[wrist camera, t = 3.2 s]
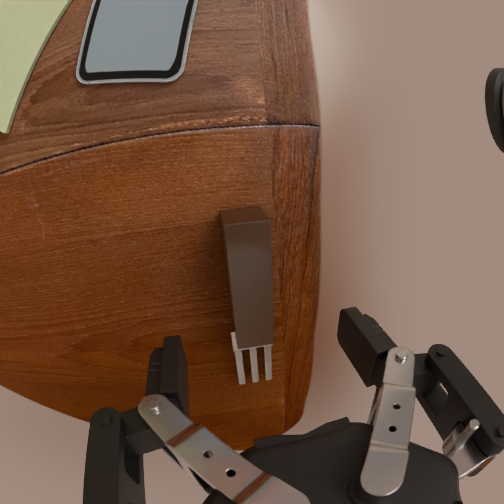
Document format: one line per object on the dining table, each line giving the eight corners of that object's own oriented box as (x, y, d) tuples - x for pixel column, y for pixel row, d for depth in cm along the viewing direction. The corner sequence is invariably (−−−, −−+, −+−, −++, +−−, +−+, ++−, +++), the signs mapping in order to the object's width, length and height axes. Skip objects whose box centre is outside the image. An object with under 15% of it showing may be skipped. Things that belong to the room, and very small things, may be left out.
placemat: (20, -64, 4) (18, -66, 4) (130, -69, 9) (129, -72, 8) (-71, 102, 9) (-74, 102, 9) (9, 133, 14) (5, 133, 13)
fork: (215, 210, 19) (218, 225, 16) (263, 205, 19) (275, 219, 16) (236, 377, 25) (241, 403, 22) (271, 371, 25) (279, 397, 22)
